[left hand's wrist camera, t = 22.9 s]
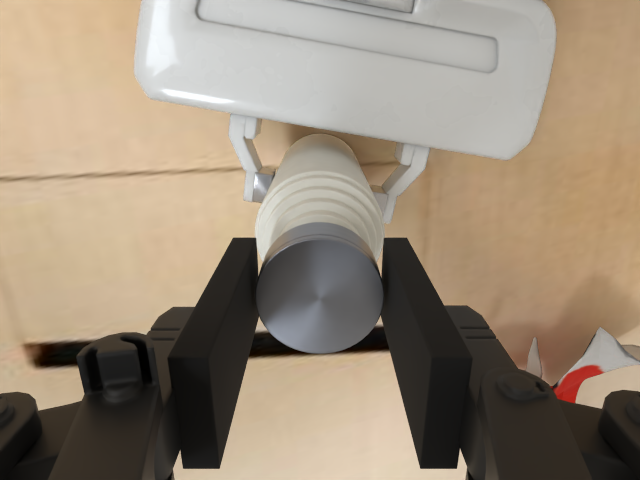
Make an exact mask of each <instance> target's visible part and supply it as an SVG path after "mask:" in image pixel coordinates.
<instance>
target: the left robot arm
mask: <svg viewBox="0 0 640 480" xmlns="http://www.w3.org/2000/svg"><path fill="white" fill-rule="evenodd" d="M381 279H382V282H383V287H384V304H383V309H382V312H381V318H382V322H383V326H384V330H385V333H386V337H387V341H388V345H389V349H390V353H391V357H392V361H393V364H394V368H395V372H396V376H397V380H398V384H399V388H400V391H401V395H402V399H403V403H404V407H405V411H406V415H407V419H408V422H409V426H410V430H411V434H412V438H413V442H414V446H415V450H416V453H417V457H418V461H419V465H420V469H457V464H458V457H459V450H460V449H461V452H462V454H463V457H464V459H465V462H466V465H467V473H466V480H640V392H638V391H628V390H620V391H615V392H611V393H610V394H609V395H608V396H607V397H605V401H604V404H603V408H602V409H599V408H595V407H590V406H585V405H581V404H576V403H571V402H567V401H564V400H560V399H557V396H556V394H555V392H554V391H553V390H552V388H551V387H550V386H549V384H547V383H546V382H545V381H543V380H542V379H541V378H539V377H538V376H536V375H533V374H531V373H529V372H527V371H524V370H520V369H518V368H517V367H516V365H515V364H514V362H513V361H512V359H511V358H510V356H509V355H508V353H507V352H506V350H505V349H504V348H503V346H502V345H501V343H500V342H499V340H498V339H496V336H495V334H494V333H493V332H492V330H491V329H489V326H488V324H487V323H486V321H485V320H484V318H483V317H482V315H480V314H479V313H477V312H476V311H474V310H473V309H471V308H470V307H468V306H444V305H443V303H442V301H441V299H440V297H439V295H438V294H437V292H436V290H435V288H434V286H433V285H432V283H431V281H430V279H429V277H428V275H427V274H426V272H425V270H424V268H423V266H422V265H421V263H420V261H419V259H418V257H417V255H416V254H415V252H414V250H413V248H412V246H411V245H410V243H409V241H408V239H407V238H384V241H383V260H382V278H381ZM257 280H258V260H257V241H256V238H233V239H232V241H231V243H230V245H229V246H228V248H227V250H226V252H225V254H224V255H223V257H222V259H221V261H220V263H219V265H218V266H217V268H216V270H215V272H214V274H213V275H212V277H211V279H210V281H209V283H208V285H207V286H206V288H205V290H204V292H203V294H202V295H201V297H200V299H199V301H198V303H197V305H196V306H195V307H172V308H171V309H170V310H168V311H167V312H165V313H164V314H162V315H161V316H159V317H158V319H157V320H156V322H155V323H154V325H153V326H152V327H151V331H149V332H148V333H147V335H144V334H140V333H137V332H129V333H118V334H113V335H108V336H106V337H103V338H101V339H98V340H96V341H94V342H92V343H91V344H89V345H87V346H86V347H84V348H83V349H82V350H81V351H80V353H79V354H78V355H77V356H76V358H77V363H78V367H79V371H80V376H81V380H82V384H83V389H84V393H85V395H84V397H83V399H82V401H79V402H76V403H72V404H68V405H64V406H59V407H54V408H50V409H45V410H40V411H38V408H37V404H36V400H35V399H34V398H33V397H32V396H31V395H29V394H26V393H21V392H12V393H2V394H0V480H174V473H173V467H174V464H175V462H176V459H177V456H178V454H179V451H180V450H181V457H182V464H183V469H220V465H221V461H222V457H223V453H224V450H225V446H226V442H227V438H228V434H229V430H230V426H231V422H232V419H233V415H234V411H235V407H236V403H237V399H238V395H239V391H240V388H241V384H242V380H243V376H244V372H245V368H246V364H247V361H248V357H249V353H250V349H251V345H252V341H253V337H254V333H255V330H256V326H257V322H258V318H259V314H258V311H257V307H256V302H255V289H256V283H257Z"/></svg>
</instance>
